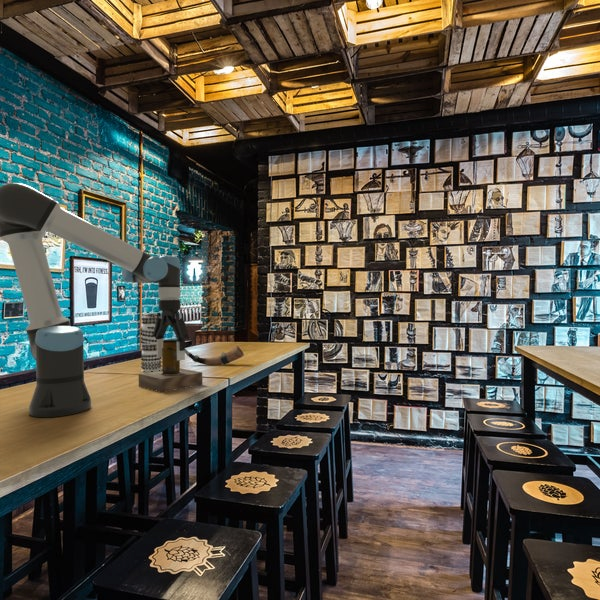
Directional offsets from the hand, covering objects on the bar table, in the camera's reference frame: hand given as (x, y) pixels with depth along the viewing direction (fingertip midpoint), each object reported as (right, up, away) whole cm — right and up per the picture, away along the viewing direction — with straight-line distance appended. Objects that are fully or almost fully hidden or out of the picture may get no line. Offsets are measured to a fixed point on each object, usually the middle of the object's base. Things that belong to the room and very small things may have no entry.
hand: (170, 358), depth 149 cm
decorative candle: (-19, -10, +33) cm, 39 cm away
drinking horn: (+6, -10, +45) cm, 46 cm away
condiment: (+1, -5, -1) cm, 6 cm away
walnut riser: (0, -10, 0) cm, 10 cm away
